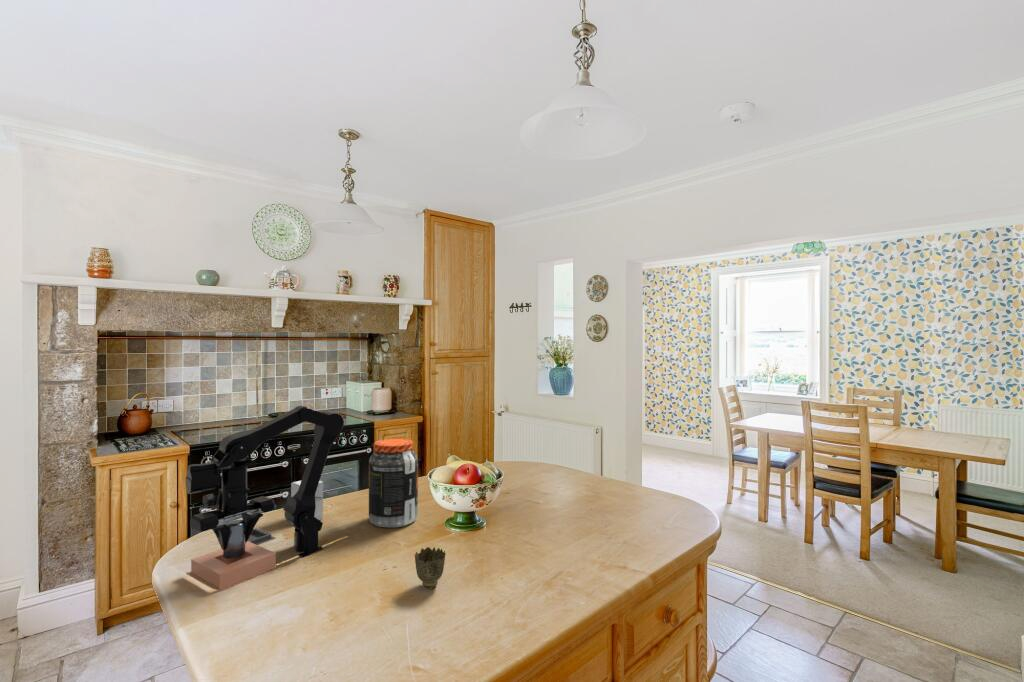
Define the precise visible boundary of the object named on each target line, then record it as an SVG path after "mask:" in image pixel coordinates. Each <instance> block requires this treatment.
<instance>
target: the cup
mask: <svg viewBox="0 0 1024 682" xmlns="http://www.w3.org/2000/svg"><path fill="white" fill-rule="evenodd" d="M446 555H447V553H446V551H445V550H444V551H443V549H442V548H441V549H440V547H437V549H436V547H433V548H431V547H429V546H427V547H425V549H424V548H423V547H422V548H421V549H420V552H418V551H415V554H414V562H415V571H416V575H417V577H418V579H419V580H420V581H421V584H422V586H423V588H425V589H433V588H435V587H437V585H438V580H440V579H441V577H442V576H443V573H444V569H445V561H446Z"/></svg>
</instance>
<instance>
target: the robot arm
mask: <svg viewBox="0 0 1024 682" xmlns="http://www.w3.org/2000/svg"><path fill="white" fill-rule="evenodd" d="M304 422H307V423H309V424H313V425H314V427H313V437H314V439H313V440H314V441H313V444H312V448H311V451H310V454H309V457H308V460H307V463H306V466H305V468H304V472H303V475H302V478H301V480H302V481H301V480H300V481H301V484H300V487H299V490H298V491H297V493H296V494H295V495H294V496H293V497H292V496H291V495H287V499H286V504H285V506H284V508H283V510H282V511H284V518H285V519H286V521H288V523H290V524H291V526H292V527H293V528H294V535H293V536H294V539H293V541H294V545H293V546H294V548H295V549H294V550H295V552H297V553H299V554H298V556H300V557H303V558H304V557H306V556H307V557H308V555H311V554H314V553H316V552H319V551H321V550H323V548H324V546H321V545H319V532H321V530H322V528H323V524H324V522H322V520H318V519H317V518H315V517H314V515H315V509H316V503H315V493H316V490H317V487H318V484H319V481H321V478H322V474H323V471H324V468H325V465H326V462H327V458H328V455H329V452H330V449H331V446H332V445H333V443H335V442H336V440H337V439H338V438H339V436H340V434H341V431H342V430H343V428H344V425H345V420H344V418H343V416H342V415H341V414H339V413H336V412H332V411H330V410H325V411H321V412H320V411H318V410H314V409H311V408H310V407H308V406H305V405H298V406H295V408H293V409H291V410H290V411H287V412H285V413H283V414H281V415H279V416H276V417H274V418H273V419H270V420H269V421H267V422H265V423H262V424H260V425H258V426H257V427H254V428H251V429H246V430H242V431H238V432H234V433H231V434H229V435H226V436H224V438H222V439H221V440H220V443H219V447H218V449H217V451H216V452H215V453H214V454H213V456H212V457H211V458H210V460H209V462H204V463H198V464H197V463H193V464H189V465H188V466H187V467H188V468H187V471H186V476H185V479H184V480H185V481H184V482H185V489H186V493H187V494H188V495H192V494H197V493H202V492H207V491H213V490H216V489H217V487H219V486H220V484H221V488H220V489H218V492H217V493H218V495H214V493H209V494H204V495H202V506H203V508H204V509H208V508H210V511H213V510H217V511H221V512H217V513H213V512H210V511H204V512H201V513H196V514H193V515H192V517H191V518H190V520H189V527H190V528H192V529H194V530H196V531H198V532H201V533H202V532H207V531H210V530H212V531H213V533H214V535H215V536H216V538H217V541H218V543H219V545H220V547H221V548H220V549H222V550H226V545H227V531H228V525H225V524H224V523H225V520H227V519H230V518H233V517H236V516H240V515H241V518H242V520H244V521H245V543H246V542H247V541H248V539H249V537H250V535H251V532H252V530H253V529H255V528H256V525H257V523H258V522H259V520H260V518H261V517H263V516H264V513H268V512H271V511H274V510H275V507H276V506H275V504H276V503H275V501H274V499H273V498H270V497H267V496H264V495H261V496H259V497H254V498H251V499H250V500H249V501H248V494H250V493H251V488H249V487H248V467H255V466H256V465H257V462H255V461H253V460H252V458H251V457H250V455H251V454H252V453H254V452H255V451H256V450H257V449H258V448H259V447H260V446H261V445H263V444H264V443H265V442H267V441H269V440H271V439H273V438H275V437H276V436H279V435H280V434H282V433H284V432H287V431H288V430H291V429H292V428H294V427H296V426H298V425H300V424H302V423H304Z"/></svg>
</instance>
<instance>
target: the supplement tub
mask: <svg viewBox="0 0 1024 682" xmlns="http://www.w3.org/2000/svg"><path fill="white" fill-rule="evenodd" d="M413 444H414V441H413V440H412V439H408V438H396V437H395V438H385V439H380V440H376V441H375V442H374V446H373V453H372V454H371V455H370V457H369V460H368V518H369V522H370V523H371V524H372V525H373V526H376V527H378V528H379V527H380V528H399V527H404V526H407V525H410V524H411V523H413V522H415V520H416V519H417V518H418V514H419V513H418V511H419V510H418V509H419V507H418V506H419V505H418V504H419V498H418V495H419V459H418V458H419V457H418V455H417V453H416V452H415V450H413V449H414V445H413Z"/></svg>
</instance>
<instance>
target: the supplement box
mask: <svg viewBox="0 0 1024 682" xmlns="http://www.w3.org/2000/svg"><path fill="white" fill-rule="evenodd" d="M301 481H302V479H301V480H298V481H293V482H291V484H290V487H291V488H290V496H292V497H293V496H294V495H295V494H296V493H297V491H298V490H299V487H300V484H301ZM315 503H316V509H315V515H314V517H315V518H317V519H318V520H319V521H322V520H323V519H324V517H323V516H324V481H323V480H320V481H319V484H318V487H317V490H316V493H315Z"/></svg>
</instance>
